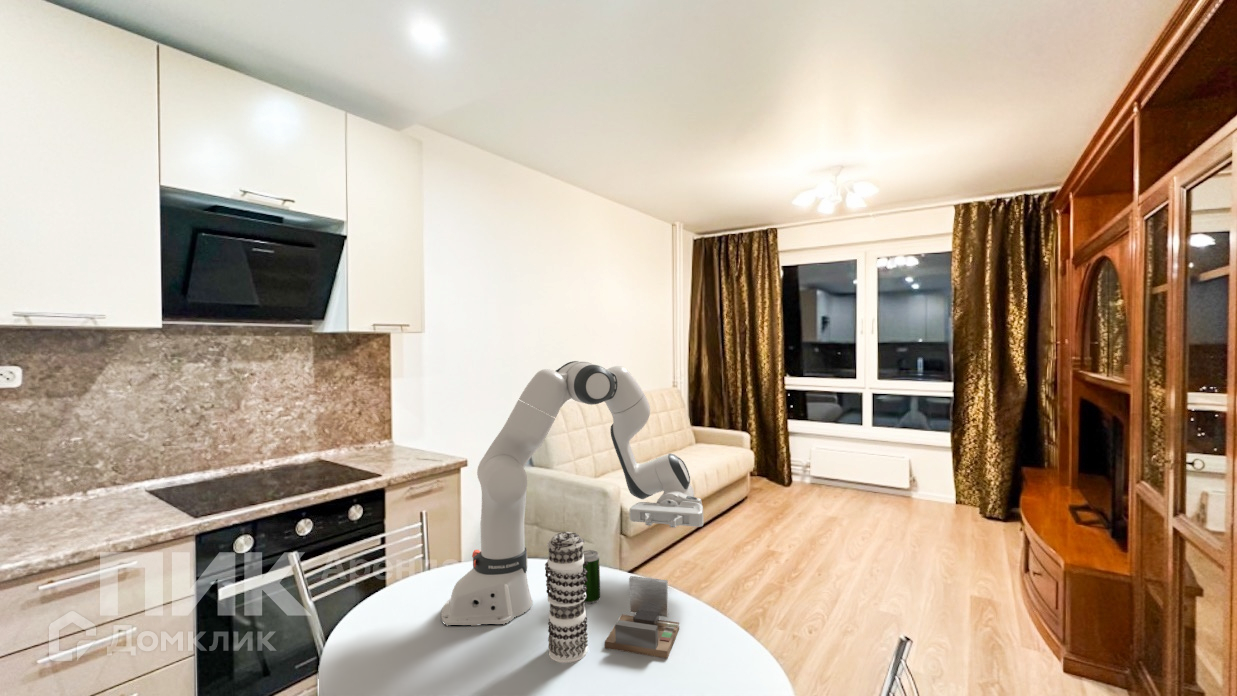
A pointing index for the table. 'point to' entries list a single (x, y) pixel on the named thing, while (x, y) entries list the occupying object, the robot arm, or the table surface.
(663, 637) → the base
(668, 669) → the table surface
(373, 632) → the table surface
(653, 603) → the brushed metal plate
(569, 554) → the decorative candle
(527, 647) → the table surface
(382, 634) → the table surface
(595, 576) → the green soda can
